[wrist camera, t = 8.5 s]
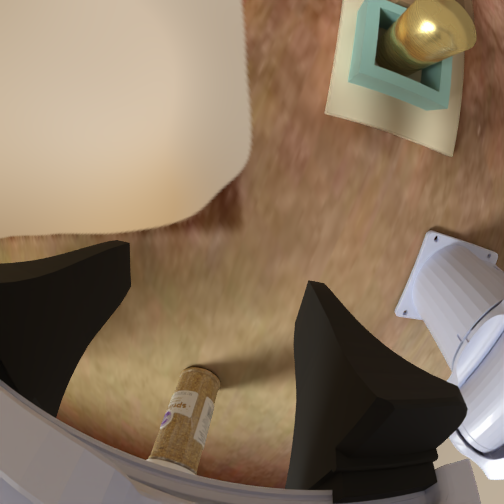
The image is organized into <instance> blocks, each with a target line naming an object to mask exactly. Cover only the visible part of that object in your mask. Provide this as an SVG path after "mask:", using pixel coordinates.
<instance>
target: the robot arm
mask: <svg viewBox="0 0 504 504" xmlns="http://www.w3.org/2000/svg"><path fill="white" fill-rule="evenodd" d="M436 236H437V239H436V240H434V238H435V237H436ZM488 254H489V255H488ZM497 259H498V254H497V253H496V252H494V251H491V250H489V249H486V248H483V247H480V246H478V245H475V244H472V243H469V242H466V241H463V240H460V239H457V238H454V237H451V236H448V235H445V234H442V233H439V232H436V231H433V230H430V231H428V232H427V233H426V235H425V238H424V241H423V244H422V246H421V249H420V252H419V254H418V257H417V260H416V262H415V265H414V267H413V270H412V272H411V275H410V277H409V279H408V282H407V284H406V286H405V289H404V291H403V293H402V296H401V298H400V300H399V302H398V304H397V306H396V309H395V314H396V315H397V316H398V317H405V318H412V319H420V320H423V321H424V323H425V324H426V326H427V328H428V329H429V331H430V333H431V334H432V336H433V338H434V340H435V342H436V343H437V345H438V347H439V349H440V351H441V352H442V354H443V356H444V358H445V360H446V362H447V364H448V366H449V367H450V369H451V371H452V374H451V376H450V377H449V379H448V380H447V381H445V380H442V379H440V378H438V377H436V376H433V375H431V374H429V373H427V372H426V371H424V370H422V369H420V368H418V367H416V366H415V365H413V364H411V363H410V362H408V361H406V360H405V359H403V358H402V357H401V356H399V355H398V354H396V353H395V352H393V351H392V350H390V349H389V348H388V347H386V346H385V345H384V344H383V343H381V342H380V341H379V340H378V339H377V338H376V337H374V336H373V335H372V334H371V333H370V332H369V331H368V330H366V329H365V328H364V327H363V326H362V325H361V324H360V323H359V322H358V321H357V320H356V319H355V317H354V316H353V315H352V314H351V313H350V312H349V311H348V310H347V309H346V308H345V306H344V305H343V304H342V303H341V302H340V301H339V300H338V298H337V297H336V296H335V295H334V294H333V292H332V291H331V290H330V289H329V288H328V287H327V286H326V285H325V284H324V283H320V282H315V281H309V280H308V284H307V287H306V290H305V293H304V297H303V300H302V303H301V306H300V309H299V313H298V316H297V319H296V322H295V331H294V359H295V375H296V414H295V426H294V435H293V444H292V451H291V458H290V465H289V471H288V476H287V482H286V487H285V489H278V488H267V487H258V486H250V485H243V484H237V483H231V482H225V481H220V480H215V479H210V478H205V477H201V476H197V475H193V474H189V473H185V472H181V471H178V470H174V469H171V468H168V467H164V466H161V465H158V464H155V463H152V462H149V461H146V460H144V459H141V458H138V457H135V456H133V455H130V454H128V453H125V452H123V451H120V450H118V449H116V448H113V447H111V446H109V445H106V444H104V443H102V442H100V441H98V440H96V439H94V438H91V437H89V436H87V435H85V434H84V433H82V432H80V431H78V430H76V429H74V428H72V427H70V426H69V425H67V424H65V423H63V422H61V421H60V420H58V419H56V416H57V413H58V410H59V406H60V403H61V400H62V398H63V395H64V393H65V390H66V388H67V385H68V383H69V381H70V378H71V376H72V374H73V372H74V370H75V368H76V366H77V364H78V362H79V361H80V359H81V357H82V355H83V353H84V352H85V350H86V348H87V346H88V345H89V344H90V342H91V341H92V339H93V338H94V337H95V335H96V334H97V333H98V331H99V330H100V329H101V328H102V326H103V325H104V324H105V323H106V321H107V320H108V319H109V318H110V316H111V315H112V314H113V313H114V311H115V310H116V309H117V308H118V306H119V305H120V304H121V302H122V301H123V299H124V297H125V296H126V294H127V292H128V290H129V289H130V287H131V276H130V243H127V242H123V241H118V240H116V241H109V242H104V243H100V244H97V245H93V246H89V247H86V248H83V249H79V250H76V251H72V252H68V253H64V254H61V255H57V256H53V257H49V258H44V259H39V260H33V261H26V262H16V263H5V264H0V504H481V502H480V497H479V493H478V489H477V485H476V481H475V478H474V474H473V471H472V467H471V464H470V461H469V459H464V460H461V461H458V462H454V463H450V464H447V465H444V466H441V467H439V468H437V469H434V465H433V462H434V461H435V460H437V459H438V454H437V450H436V448H437V447H438V446H439V445H441V444H442V443H443V442H444V441H445V440H446V439H447V438H448V437H449V439H450V440H451V442H452V443H453V445H454V446H455V447H456V449H457V450H458V451H459V452H460V453H462V454H463V455H465V456H467V457H469V458H470V459H471V460H473V461H474V462H475V463H476V464H477V465H478V466H479V467H480V468H481V469H482V470H483V471H484V473H485V474H486V476H487V478H488V479H491V480H504V271H502V270H501V269H500V268H499V267H498V266H496V265H495V264H496V262H497ZM406 310H407V311H406ZM404 311H406V312H405V313H403V312H404Z"/></svg>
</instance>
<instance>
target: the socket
mask: <svg viewBox="0 0 504 504" xmlns="http://www.w3.org/2000/svg"><path fill="white" fill-rule="evenodd" d="M406 9H407V8H405V7H402V6H400V5H397V4H395V3H392V2H390V1H387V0H364V2H363V3H362V5H361V6H360V8H359V10H358V11H357V20H356V29H355V36H354V44H353V51H352V58H351V64H350V71H349V77H348V82H349V83H353V84H356V85H359V86H362V87H366V88H369V89H372V90H375V91H378V92H381V93H383V94H386V95H389V96H392V97H394V98H397V99H400V100H402V101H405V102H407V103H410V104H412V105H414V106H417V107H419V108H421V109H424V110H426V111H429V110H439V109H448V105H449V96H450V87H451V75H452V57H453V56H451V57H449V58H446V59H444V60H442V61H439V62H437V63H435V64H433V65H430V66H428V67H426V68H424V69H422V73H421V82H420V83H419V82H417V81H414V80H412V79H410V78H407V77H405V76H402V75H400V74H397V73H395V72H392V71H390V70H387V69H384V68H381V67H379V66H376V65H374V63H375V56H376V48H377V39H378V29H379V27H381V28H383V29H386V30H388V28H389V27H390V26H391V25H392V24H393V23H394V22H395V21H396V20H397V19H398V18H399V17H400V16H401V15H402V14H403V13H404V12H405V10H406Z"/></svg>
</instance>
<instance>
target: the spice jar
mask: <svg viewBox="0 0 504 504" xmlns="http://www.w3.org/2000/svg"><path fill="white" fill-rule="evenodd" d="M219 388H220V381H219V379H218V378H217V376H215V375H214V374H213V373H212V372H210V371H208V370H206V369H202V368H198V367H190V368H187V369H184V370H183V371H182V372H181V374H180V380H179V382H178V385H177V387H176V390H175V392H174V394H173V396H172V398H171V401H170V403H169V406H168V408H167V411H166V414H165V416H164V419H163V422H162V424H161V427H160V431H159V434H158V436H157V439H156V442H155V444H154V447H153V450H152V452H151V455H150V456H149V457H148V458H149V459H147V460H146V461H149V462H152V463H155V464H158V465H161V466H164V467H168V468H171V469H174V470H178V471H181V472H185V473H189V474H193V475H196V474H197V468H198V464H199V460H200V457H201V453H202V450H203V449H204V445H205V441H206V437H207V433H208V429H209V426H210V422H211V418H212V414H213V410H214V403H215V399H216V395H217V392H218V390H219Z"/></svg>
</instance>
